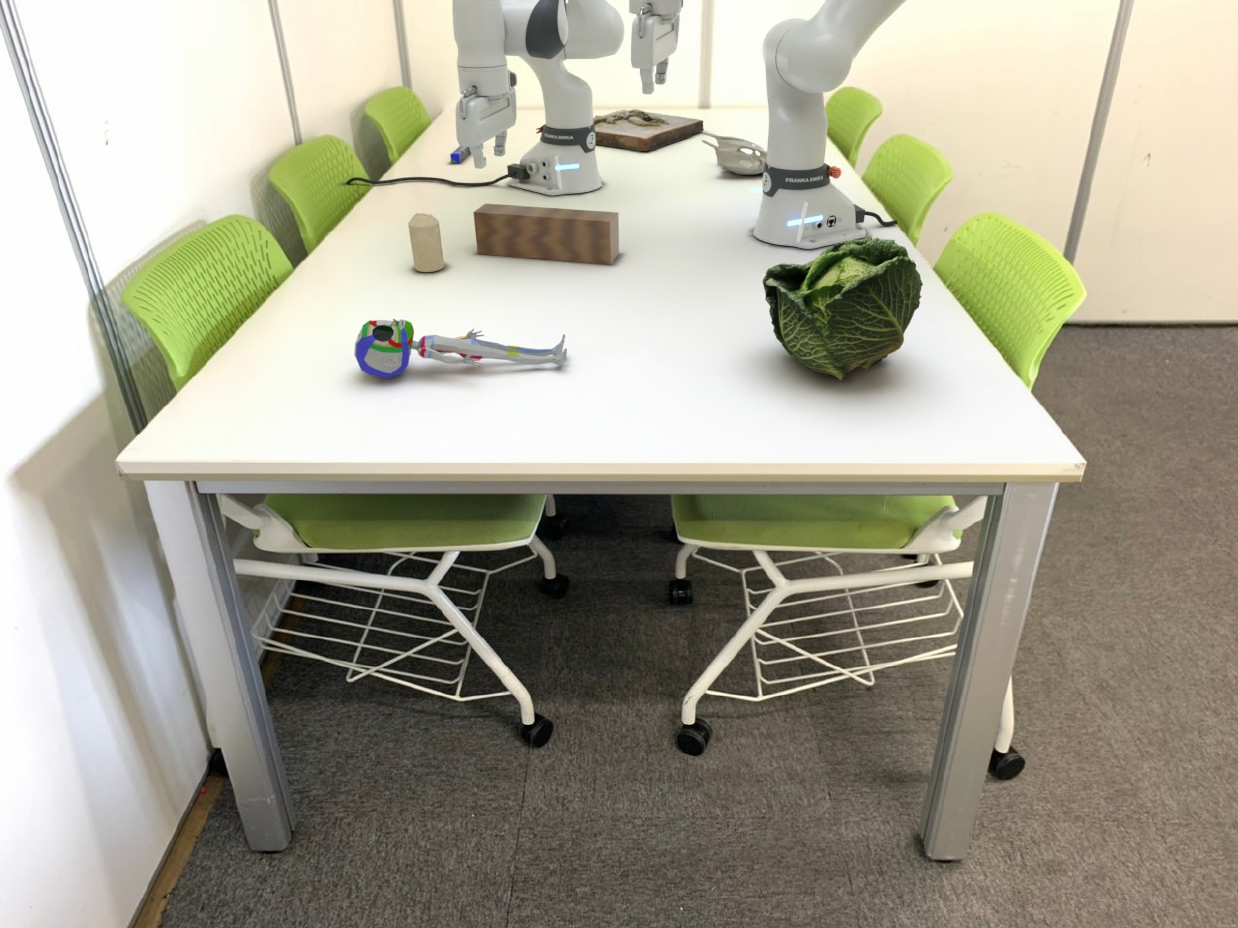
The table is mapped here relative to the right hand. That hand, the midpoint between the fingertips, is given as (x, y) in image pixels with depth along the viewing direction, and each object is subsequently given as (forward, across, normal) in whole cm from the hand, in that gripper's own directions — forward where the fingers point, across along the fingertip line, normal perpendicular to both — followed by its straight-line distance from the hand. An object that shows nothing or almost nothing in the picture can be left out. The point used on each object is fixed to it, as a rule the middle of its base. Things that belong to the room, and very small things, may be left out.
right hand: (654, 88), depth 158 cm
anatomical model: (+30, +63, -10) cm, 70 cm away
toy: (+30, -56, +15) cm, 66 cm away
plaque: (+30, +96, +29) cm, 105 cm away
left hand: (+13, -6, +30) cm, 33 cm away
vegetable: (+30, -42, -38) cm, 64 cm away
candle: (+30, -18, +39) cm, 52 cm away
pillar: (+30, +65, +68) cm, 99 cm away
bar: (+30, -6, +20) cm, 36 cm away
